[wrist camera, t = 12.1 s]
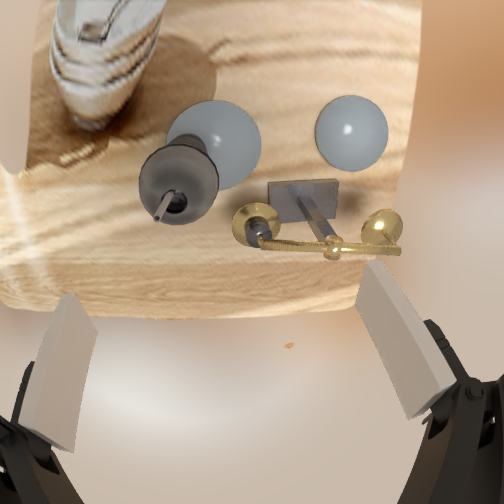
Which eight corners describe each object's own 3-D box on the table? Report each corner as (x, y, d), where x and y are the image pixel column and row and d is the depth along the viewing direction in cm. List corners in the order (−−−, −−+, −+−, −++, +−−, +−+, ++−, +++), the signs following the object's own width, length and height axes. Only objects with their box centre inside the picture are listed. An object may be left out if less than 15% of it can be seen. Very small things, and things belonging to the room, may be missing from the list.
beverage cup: (175, 186, 36) (152, 292, 20) (148, 140, 32) (90, 214, 16) (226, 161, 35) (243, 253, 19) (200, 112, 31) (190, 156, 15)
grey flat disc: (161, 107, 31) (159, 108, 30) (257, 96, 32) (259, 97, 31) (174, 192, 38) (173, 196, 37) (261, 183, 39) (262, 186, 38)
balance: (227, 186, 38) (235, 249, 26) (369, 177, 40) (427, 229, 28) (230, 224, 42) (240, 296, 29) (364, 212, 43) (414, 270, 31)
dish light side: (315, 93, 32) (318, 93, 31) (386, 99, 33) (390, 100, 32) (313, 169, 38) (316, 172, 37) (380, 168, 39) (383, 171, 38)
